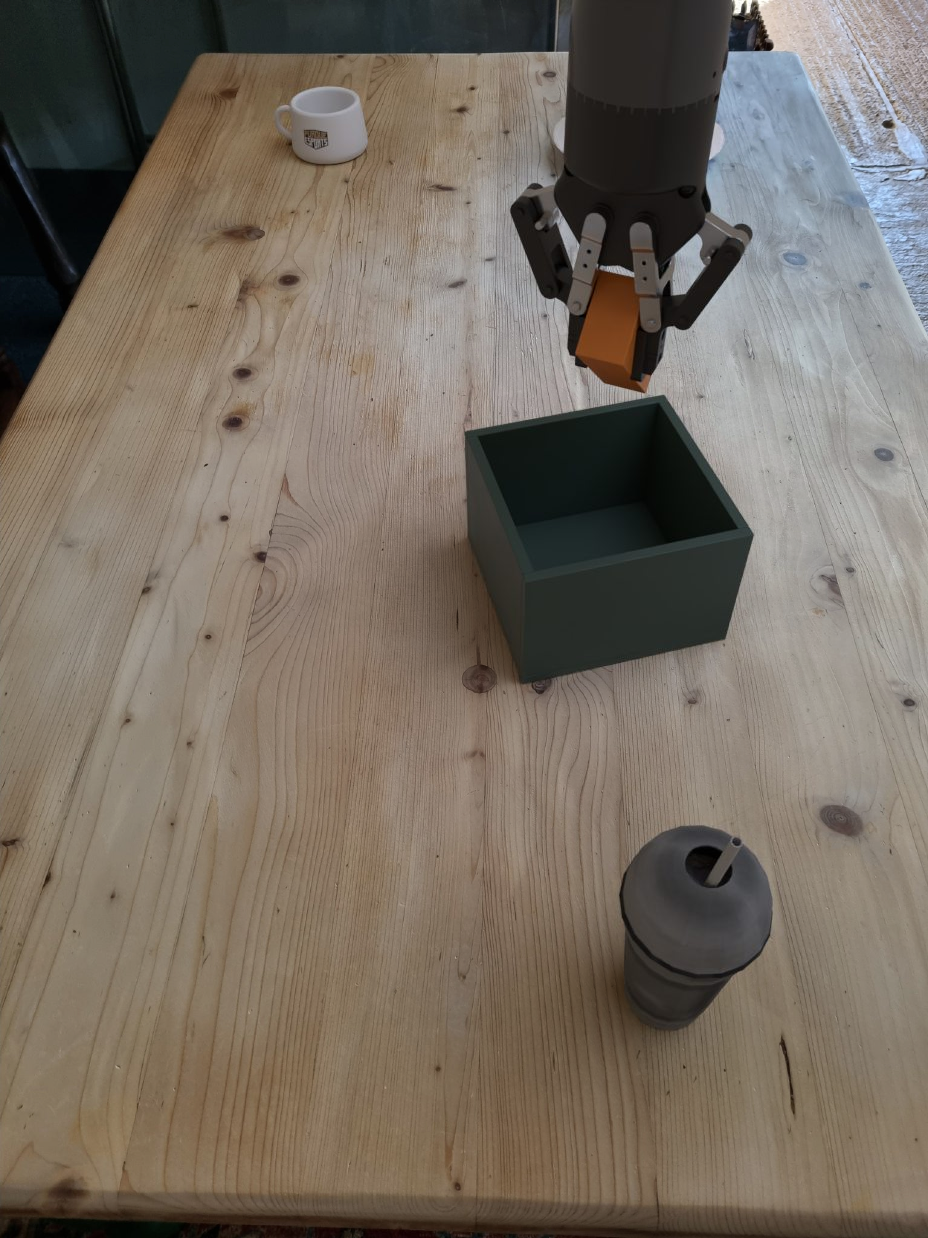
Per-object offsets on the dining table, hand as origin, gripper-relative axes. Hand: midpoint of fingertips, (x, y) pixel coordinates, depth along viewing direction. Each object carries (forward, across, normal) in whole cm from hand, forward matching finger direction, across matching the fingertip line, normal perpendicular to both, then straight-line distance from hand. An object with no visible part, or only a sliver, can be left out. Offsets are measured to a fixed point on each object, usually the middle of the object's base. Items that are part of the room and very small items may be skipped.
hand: (613, 366), depth 61 cm
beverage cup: (+20, +15, -28) cm, 37 cm away
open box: (+20, 0, 0) cm, 20 cm away
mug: (+20, -58, +57) cm, 84 cm away
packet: (+2, 0, +5) cm, 5 cm away
